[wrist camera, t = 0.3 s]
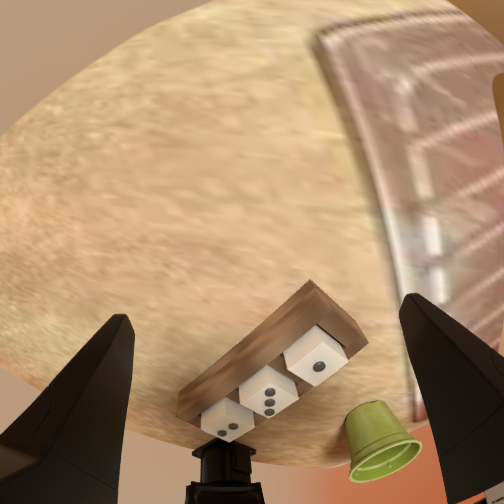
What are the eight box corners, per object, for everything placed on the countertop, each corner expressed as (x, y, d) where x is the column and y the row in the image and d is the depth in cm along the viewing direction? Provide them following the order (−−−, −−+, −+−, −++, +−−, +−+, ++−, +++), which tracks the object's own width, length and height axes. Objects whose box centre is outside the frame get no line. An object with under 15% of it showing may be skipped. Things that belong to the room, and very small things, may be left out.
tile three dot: (266, 399, 27) (269, 420, 25) (238, 384, 26) (240, 405, 24) (293, 380, 27) (299, 400, 24) (266, 363, 25) (270, 384, 23)
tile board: (228, 417, 32) (229, 440, 29) (179, 391, 30) (176, 416, 27) (355, 320, 28) (368, 342, 25) (310, 279, 26) (321, 300, 23)
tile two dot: (228, 424, 29) (229, 443, 26) (201, 411, 27) (200, 431, 25) (252, 409, 28) (254, 429, 25) (224, 394, 27) (225, 415, 24)
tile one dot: (309, 368, 26) (316, 388, 24) (282, 350, 25) (287, 371, 23) (339, 343, 25) (349, 363, 23) (314, 323, 24) (323, 343, 22)
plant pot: (318, 423, 34) (334, 478, 26) (376, 381, 32) (404, 435, 24) (355, 439, 37) (372, 485, 29) (407, 402, 35) (432, 447, 27)
